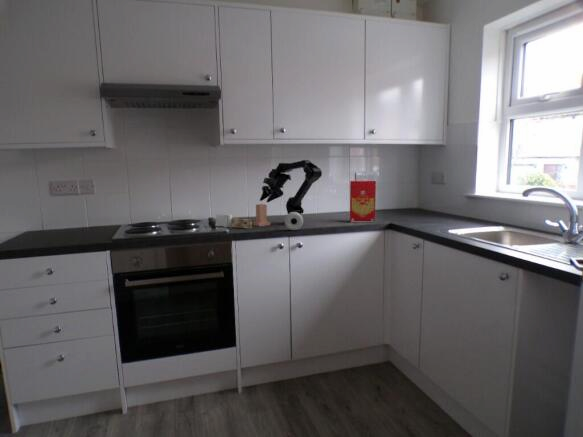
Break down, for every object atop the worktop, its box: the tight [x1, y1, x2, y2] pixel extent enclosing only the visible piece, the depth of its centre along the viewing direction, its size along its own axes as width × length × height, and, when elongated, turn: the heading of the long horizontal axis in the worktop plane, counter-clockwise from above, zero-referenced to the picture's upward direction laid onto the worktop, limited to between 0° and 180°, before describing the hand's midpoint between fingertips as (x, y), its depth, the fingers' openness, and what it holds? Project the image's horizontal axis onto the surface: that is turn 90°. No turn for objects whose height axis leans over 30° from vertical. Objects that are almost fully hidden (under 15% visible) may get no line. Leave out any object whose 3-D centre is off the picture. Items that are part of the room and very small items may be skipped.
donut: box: [284, 212, 304, 231], centre depth 199 cm, size 10×3×10 cm, turn 90°
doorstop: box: [252, 203, 271, 227], centre depth 218 cm, size 8×8×12 cm
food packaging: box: [349, 180, 377, 222], centre depth 226 cm, size 15×5×25 cm, turn 85°
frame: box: [215, 213, 233, 228], centre depth 212 cm, size 10×2×7 cm, turn 70°
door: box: [231, 217, 253, 230], centre depth 207 cm, size 12×2×5 cm, turn 64°
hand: (263, 201), depth 221 cm, fingers open, 9 cm apart
